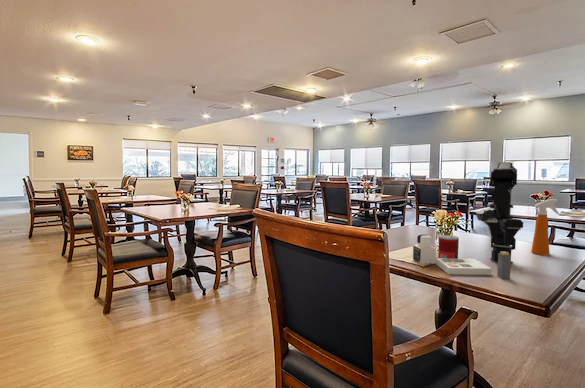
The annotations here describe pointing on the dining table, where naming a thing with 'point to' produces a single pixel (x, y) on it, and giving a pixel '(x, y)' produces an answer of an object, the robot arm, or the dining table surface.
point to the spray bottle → (542, 228)
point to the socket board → (463, 266)
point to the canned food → (448, 246)
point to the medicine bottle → (424, 250)
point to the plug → (504, 265)
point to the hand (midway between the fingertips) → (499, 242)
